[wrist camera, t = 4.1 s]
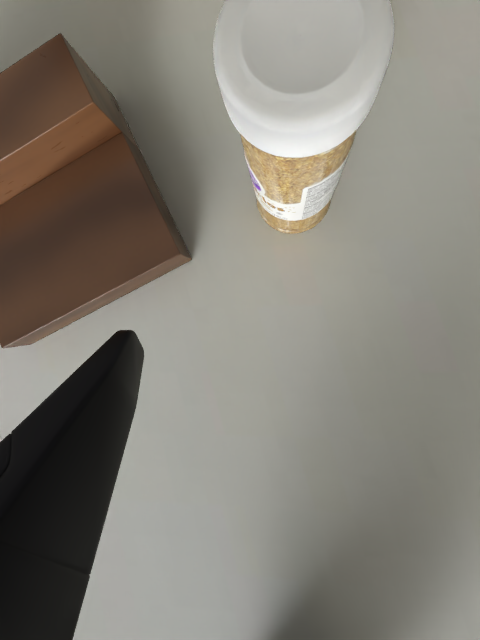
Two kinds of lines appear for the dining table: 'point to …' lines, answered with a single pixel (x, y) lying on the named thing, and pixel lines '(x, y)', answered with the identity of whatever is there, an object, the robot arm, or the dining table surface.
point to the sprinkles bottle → (300, 94)
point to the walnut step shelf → (72, 198)
